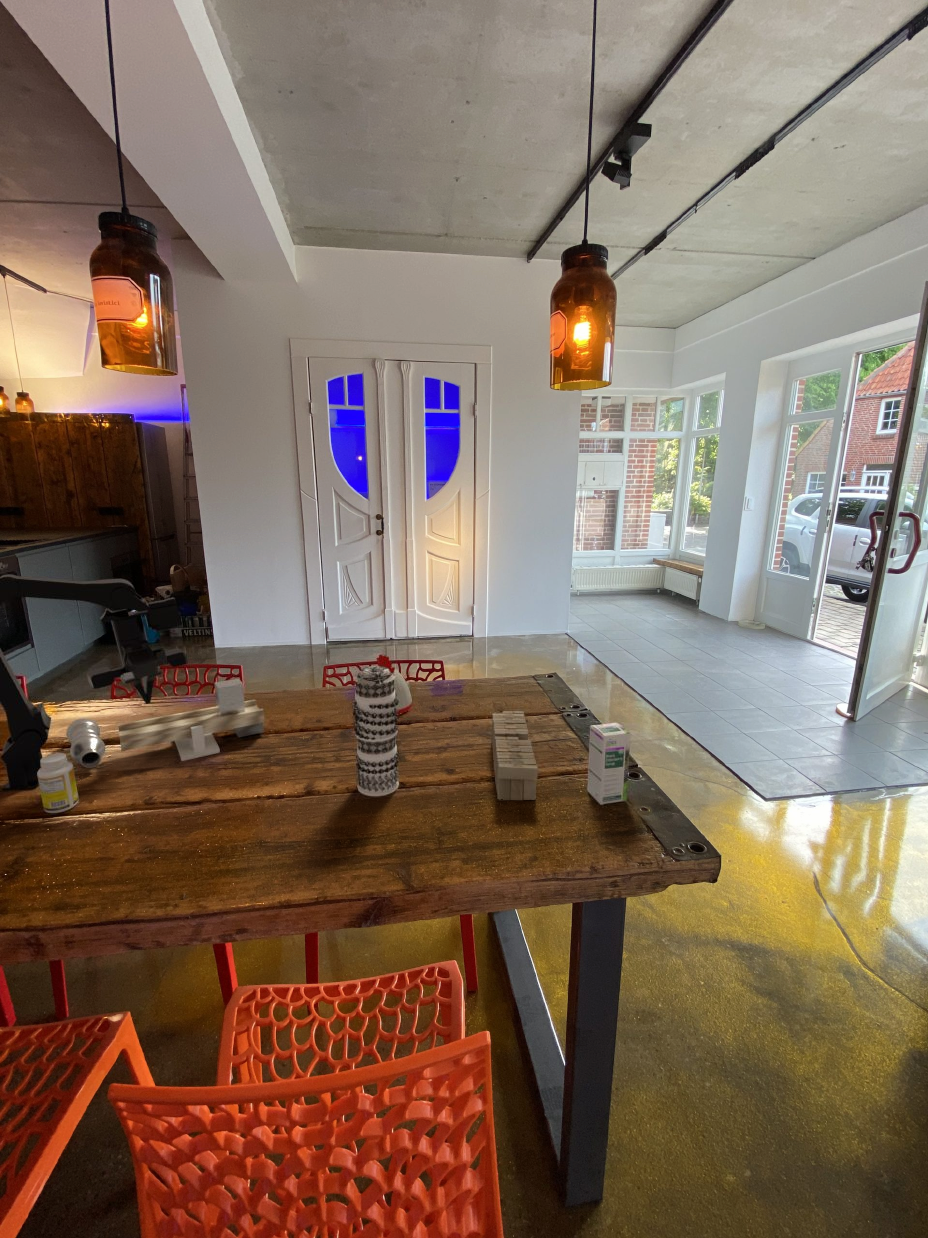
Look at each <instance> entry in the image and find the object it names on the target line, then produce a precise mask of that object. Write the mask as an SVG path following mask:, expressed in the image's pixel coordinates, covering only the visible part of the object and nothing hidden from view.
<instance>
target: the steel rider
mask: <svg viewBox="0 0 928 1238" xmlns="http://www.w3.org/2000/svg"><path fill="white" fill-rule="evenodd" d="M214 691H215V702H216V706H217V714H218V716H219V717H221V716H227V715H232V714H237V713H242V712H245V702H244V701H245V692H244V683H243V682H242V681H241V679H240V678H236V679H229V680H222V681H217V682H214Z"/></svg>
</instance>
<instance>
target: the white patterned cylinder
mask: <svg viewBox="0 0 928 1238" xmlns="http://www.w3.org/2000/svg"><path fill="white" fill-rule="evenodd" d="M395 677H396V676H395V675H394V674H393V673H391V672H390V671H389V669H387V668H385V667H381V666H378V665H372V666H370V665H369V666H365V667H364V668H362V669H360V671H359V672H358V673H357V674H355V676H353V680H354V681H355V691H354V699H355V700H353V701H352V705H351V707H352V709H353V710H352V715H353V719H354V721H353V725H354V728H353V730H354V735H355V737H356V739H357V747H356V749H357V750H356V751H357V754H356V756H355V759H356V763H355V765H356V772H355V774H356V782H357V783H356V784H357V790H358V792H359V793H361V794H362V795H364V796H368V797H382V796H387V795H390V794H392V793H394V792H395V791H396V790H398V788H399V786H400V783H399V777H400V775H399V771H400V769H399V768H398V765H399V762H400V761H399V759H398V758H399V753H398V749H397V748H398V747H397V743H396V736H397V735H398V733H399V732H398V729H399V727H398V725H396V723H397V722H398V721H399V716H396V715H397V714H398V709H396V708H395V706H397V705H398V703H399V701H398V700H397V699H396V698H397V696H398V694H397V693H395V690H394V678H395ZM395 697H396V698H395Z"/></svg>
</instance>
